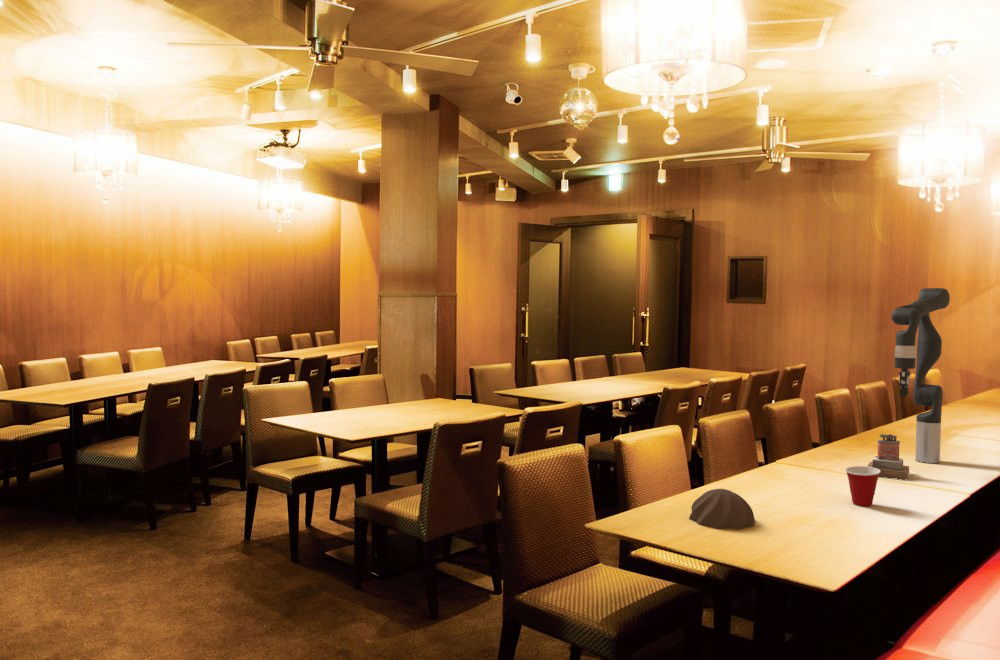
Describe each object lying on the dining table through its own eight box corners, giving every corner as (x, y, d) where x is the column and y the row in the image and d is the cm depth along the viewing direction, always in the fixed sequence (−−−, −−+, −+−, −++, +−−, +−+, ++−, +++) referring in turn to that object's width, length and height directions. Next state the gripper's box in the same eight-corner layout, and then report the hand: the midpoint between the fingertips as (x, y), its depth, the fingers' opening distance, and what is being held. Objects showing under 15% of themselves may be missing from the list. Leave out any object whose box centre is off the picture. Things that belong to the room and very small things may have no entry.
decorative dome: (706, 531, 218) (706, 497, 217) (679, 513, 237) (680, 482, 237) (767, 529, 221) (768, 496, 220) (736, 511, 240) (736, 480, 240)
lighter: (897, 459, 295) (898, 433, 295) (900, 460, 292) (901, 435, 292) (875, 457, 297) (876, 433, 297) (878, 459, 294) (879, 434, 293)
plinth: (870, 469, 304) (870, 454, 304) (909, 473, 297) (909, 458, 297) (866, 475, 293) (866, 460, 292) (906, 480, 285) (906, 464, 285)
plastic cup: (836, 501, 252) (837, 466, 252) (860, 499, 256) (861, 464, 256) (862, 510, 242) (863, 473, 242) (887, 507, 246) (888, 471, 246)
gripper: (914, 357, 296) (913, 398, 296) (916, 356, 308) (915, 395, 308) (893, 357, 300) (892, 397, 300) (896, 355, 312) (895, 393, 312)
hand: (904, 396), depth 304 cm, fingers open, 8 cm apart
